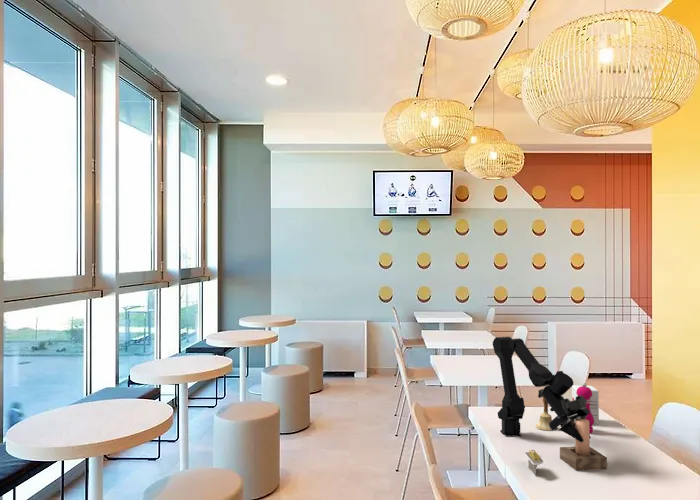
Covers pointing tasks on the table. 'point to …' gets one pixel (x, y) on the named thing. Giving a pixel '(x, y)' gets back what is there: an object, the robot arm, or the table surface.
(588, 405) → the pepper mill
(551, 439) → the table surface
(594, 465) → the socket
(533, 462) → the platform
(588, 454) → the peg
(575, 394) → the supplement box
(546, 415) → the hand bell
